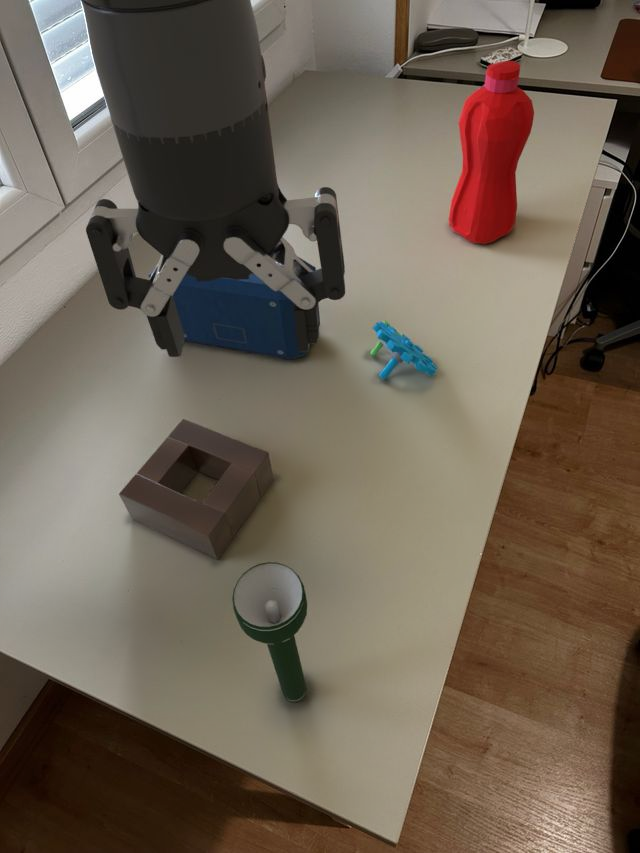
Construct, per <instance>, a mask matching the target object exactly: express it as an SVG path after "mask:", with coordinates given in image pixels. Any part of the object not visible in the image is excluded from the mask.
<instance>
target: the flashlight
mask: <svg viewBox="0 0 640 853" xmlns="http://www.w3.org/2000/svg"><path fill="white" fill-rule="evenodd" d="M306 594H307V593H306V590H305V585H304V583H303V581H302V579H301V577H300V575H298V574H297V572H296V571H295V570H294V569H292V568H291V567H290V566H288V565H286V564H283V563H280V562H274V561H273V562H272V561H269V562H262V563H258V564H256V565H254V566H252V567H250V568H248V569H247V570H245V572H243V573H242V575H241V576H240V577H239V578H238V579H237V581H236V584H235V586H234V588H233V592H232V599H231V601H232V608H233V611H234V615H235V618H236V620H237V622H238V624H239V626H240V628H241V630H242V631H243V632H244V634H245V635H246V636H248V638H250V639H253V640H254V641H255V642H259V643H261V644H265V645H267V646H266V647H267V649H268V652H269V655H270V659H271V661H272V664H273V668H274V670H275V674H276V676H277V679H278V683H279V685H280V689H281V693H282V695H283V697H284V699H285V700H286V701H287V702H289V703H295V704H296V703H299V702H301V701H302V700H304V698H305V697H306V694H307V689H308V688H307V683H306V679H305V675H304V671H303V667H302V662H301V658H300V653H299V649H298V645H297V641H296V637H295V635H296V634H297V633H298V632H299V631H300V629H301V628H302V627H303V625H304V623H305V620H306V617H307V616H308V614H307V613H308V600H307V595H306Z"/></svg>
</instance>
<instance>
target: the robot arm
mask: <svg viewBox="0 0 640 853" xmlns="http://www.w3.org/2000/svg"><path fill="white" fill-rule="evenodd" d="M80 4H81V7H82V11H83V16H84V21H85V25H86V26H85V27H86V32H87V37H88V44H89V48H90V53H91V57H92V62H93V65H94V68H95V73H96V76H97V78H98V81H99V86H100V88H101V91H102V95H103V99H104V100H105V105H106V108H107V111H108V114H109V117H110V121H111V124H112V127H113V130H114V133H115V137H116V139H117V143H118V147H119V150H120V153H121V156H122V159H123V162H124V166H125V169H126V173H127V175H128V178H129V182H130V185H131V189H132V192H133V195H134V198H135V199H136V201H137V206H138V208H118V206H117V204H116V203H115V202H114V201H112V200H111V199H107V198H102V199H101V198H100V199H99V200H98V201H97V202H96V204H95V206H94V208H93V211H92V214H91V216H90V218H89V221H88V222H87V224H86V227H85V233H86V236H87V239H88V242H89V245H90V248H91V252H92V255H93V257H94V261H95V264H96V267H97V271H98V274H99V276H100V280H101V282H102V285H103V289H104V292H105V295H106V298H107V302H108V304H109V305H110V306H111V307H112V308H114V309H116V310H120V311H121V310H122V311H123V310H125V309H127V308H128V307H132V308H134V309H135V308H136V309H138V310H140V311H141V312H142V313H143V314H144V315H145V316H146V318H147V322H148V324H149V328H150V330H151V332H152V336H153V337H154V342H155V344H156V345H157V347H158V348H159V349H160V350H161V351H162V350H163V351H164V350H166V352H167V355H168V357H169V358H177V357H181V356H182V354H183V350H184V344H185V341H184V332H183V328H182V325H181V322H180V318H179V315H178V312H177V308H176V305H175V302H174V298H173V294H174V292H175V291H176V289H177V287H178V286H179V284H180V282H181V281H182V279H183V277H184V276H185V274H187V275H189V276H191V277H195V278H196V281H197V282H200V281H211V280H215V279H218V278H229V279H235V280H241V279H249V276H250V275H251V274H255V275H256V276H257V277H259V278H260V279H261V280H262V281H263V282H264V283H265V284H266V285H268V286H269V287H270V288H271V289H272V290H274V291H281V292H282V293H283V294H284V295H285V296H287V297H288V298H289V299H290V300H291V301H292V302H293V303H294V306H293V313H294V321H295V329H296V337H297V345H298V352H307V353H309V352H310V347H309V344H311V345H312V344H317V343H318V341H319V338H320V326H319V317H318V306H317V304H318V303H320V302H321V301H323V300H326V299H329V300H332V301H338V300H339V301H340V300H341V299H343V298H344V297H345V295H346V283H345V273H346V266H345V256H344V249H343V241H342V234H341V226H340V217H339V207H338V199H337V193H336V192H335V190H334V189H333V188H331V187H330V186H329V187H328V186H323V187H320V188H319V189H317V190H316V191H315V193H314V196H313V197H306V198H305V197H304V198H295V199H287V198H286V196H285V195H284V193H283V192H282V191H281V189H280V187H279V184H278V178H277V169H276V162H275V155H274V146H273V145H274V144H273V137H272V131H271V130H272V129H271V123H270V122H271V121H270V115H269V114H270V113H269V106H268V99H267V90H266V83H265V82H266V78H267V72H266V64H265V60H264V57H263V56H264V55H263V54H262V51H261V43H260V36H259V31H258V26H257V21H256V17H255V13H254V10H253V5H252V1H251V0H80ZM290 225H295V226H297V227H299V228H300V230H301V232H302V235H303V236H304V237H305V238H306V239H308V240H309V241H310V242H316V243H317V250H318V256H319V264H320V268H318V269H316V270H315V271H312V270H311V269H310V268H309V267H308V266H307V265H306V264H305V263H304V262H303V261H302V260H301V259H302V258H301V257H299V256H298V255H297V254H296V252H295V250H294V247H293V246H292V244H290V243H289V241H287V239H285V238H284V236H285V234H286V232H287V231H288V228H289V226H290ZM137 233H138V235H139V236H140V237H141V239H143V240H144V241H145V242H146V243H147V244H148V245H150V246H151V248H153V249H154V250H155V251H157V252H158V253H159V254H160V257H159V260H158V262H157V264H156V265H157V266H156V265H155V266H156V268H155V267H154V268H155V269H154V268H153V269H154V271H153V273H152V275H151V277H150V278H149V277H148V279H147V278H142V277H137V275H136V271H135V267H134V264H133V260H132V256H131V252H130V249H129V247H130V246H131V243H132V240H133V236H134V234H137ZM300 258H301V259H300Z"/></svg>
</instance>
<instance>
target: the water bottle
mask: <svg viewBox="0 0 640 853" xmlns="http://www.w3.org/2000/svg"><path fill="white" fill-rule="evenodd" d="M520 71H521V65H520V64H519V63H518V62H516V61H514V60H503V61H497V62H495V63H494V62H493V63H492V64H489V65H488V66H487V67H486V71H485V72H486V73H485V78H484V79H485V80H484V84H483V85H481V86H480V87H478V89H476V90H474V91H473V92H472V93H471V94H470V95H468V97H467V98H466V99H465V101H464V104H463V106H462V110H461V113H460V116H459V120H458V130H459V138H460V146H461V154H462V166H461V167H462V169H461V172H460V175H459V178H458V181H457V184H456V187H455V189H454V192H453V195H452V198H451V200H450V207H449V213H448V214H449V215H448V223H449V227H450V228H451V229H452V231H453V232H454V233H456V234H458V235H460V236H461V237H463V238H464V239H465V240H466V241H468V242H471V243H473V244H483V245H485V244H489V243H492V242H495V241H496V240H498V239H499V238H501V237H504V236H507V235H508V234H509V233H510V232H511V231H512V230H513V228H514V227H515V224H516V219H517V211H518V195H517V194H518V192H517V177H516V173H517V168H518V163H519V161H520V158H521V156H522V154H523V152H524V150H525V147H526V144H527V142H528V140H529V138H530V136H531V133H532V128H533V123H534V117H535V110H534V105H533V100H532V99H531V98H530V97H529V95H528V94H527V93H526V92H525V91H524V90H523V89H521V88H520V87H519V86H518V84H519V79H521V77H520Z"/></svg>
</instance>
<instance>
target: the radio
mask: <svg viewBox="0 0 640 853" xmlns="http://www.w3.org/2000/svg"><path fill="white" fill-rule="evenodd" d="M299 258H300V259H301V260H302V261H303V262H304V263H305V264H306V265H307V266H308V267H309V268H310V269H311V270H312V271H315V270H317V268H316V267H315V266H314V265H312V264H311V263H309V262H307V261H306V260H305V259H303V258H301V257H299ZM156 266H157V264H156V265H155V266H154V267H153V269H152V270H151V271H150V272H149V274H148V279H149V278H150V277H151V275H152V273H153V271H154V269H155V268H156ZM173 298H174V302H175V305H176V308H177V312H178V315H179V318H180V322H181V325H182V328H183V332H184V342H190V343H195V344H201V345H206V346H212V347H217V348H224V349H228V350H235V351H240V352H245V353H251V354H255V355H256V354H257V355H263V356H269V357H273V358H279V359H284V360H294V359H298V358H301V357H304V356H306V355H307V353H308V352H298V345H297V337H296V329H295V321H294V313H293V306H294V303H293V302H292V301H291V300H290V299H289V298H288V297H287V296H285V295H284V294H283V293H282V292H281V291H274V290H272V289H271V288H270V287H269V286H268V285H266V284H265V283H264V282H263V281H262V280H261V279H260V278H259V277H257V276H256V275H255V274H251V275H250V276H249V279H241V280H235V279H229V278H218V279H215V280H211V281H200V282H197V281H196V278H195V277H191V276H189V275H187V274H185V276H184V277H183V279H182V281H181V282H180V284H179V286H178V287H177V289H176V291H175V292H174V294H173ZM319 303H320V302H319ZM319 303H318V304H317V306H318V317H319V327H321V318H320V317H321V316H320V305H319ZM311 345H312V344H309V348H310V347H311Z"/></svg>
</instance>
